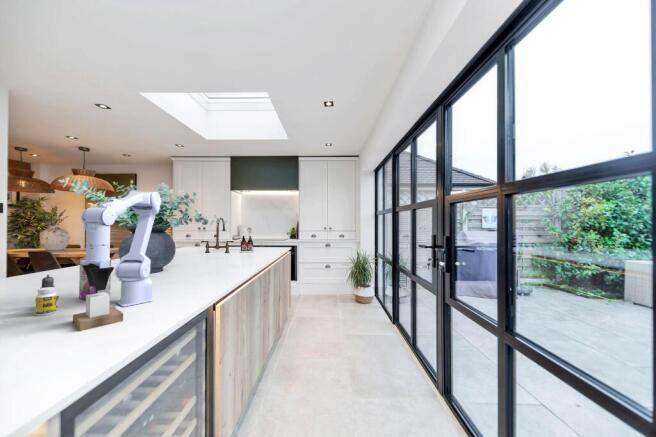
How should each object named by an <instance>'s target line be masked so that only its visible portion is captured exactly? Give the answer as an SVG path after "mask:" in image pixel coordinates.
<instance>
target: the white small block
mask: <svg viewBox="0 0 656 437" xmlns="http://www.w3.org/2000/svg"><path fill="white" fill-rule="evenodd" d="M110 300H111V293H110V294H108V293H106V292H102V293H96V294H90V295H86V300H85V312H86V315H87V316H88V317H89V318H92V317H97V316H101V315H106V314H109V307H110Z"/></svg>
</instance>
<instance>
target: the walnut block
mask: <svg viewBox="0 0 656 437" xmlns="http://www.w3.org/2000/svg"><path fill="white" fill-rule="evenodd" d="M121 322H124V312H122V311H120V309H118V308H116V307H115V306H111V307H110V306H109V314H106V315H101V316H97V317H92V318H89V317H88V316H87V315H86V311H85V312H79V313H75V314H72V324H75V325H74V326H75V327H76V328H77V329H78V331H79V332H83V330H84V331H87V330H92V329H96V328H100V327H105V326H108V325H113V324H116V323H121Z"/></svg>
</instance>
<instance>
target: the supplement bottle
mask: <svg viewBox="0 0 656 437" xmlns="http://www.w3.org/2000/svg"><path fill="white" fill-rule="evenodd" d="M40 288H41V287H40ZM40 288H39V289H38V290H37V295H36V296H35V299H36V301H35V307H34V308H35V312H34V314H35V316H38V317H39V316H42V317H43V316H48V315H52V314H54V313H56V312H57V308H56V306H57V302H56V296H58V295H57V293H56V286H55V287H46V288H41V289H40Z"/></svg>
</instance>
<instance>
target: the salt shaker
mask: <svg viewBox="0 0 656 437" xmlns="http://www.w3.org/2000/svg"><path fill="white" fill-rule="evenodd" d="M54 279H55V278H54V277H53V276H50V274H47V275H46V277H43V278H42V279H41V287H40V288H39V289H41V288H46V287H55V288H56V286H54V281H55V280H54ZM59 298H60V295H57V296H56V303H57V301H58V299H59ZM34 301H35V302H36V298H35V299H34ZM58 307H59V306H58V305H56V309H57V308H58Z"/></svg>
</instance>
